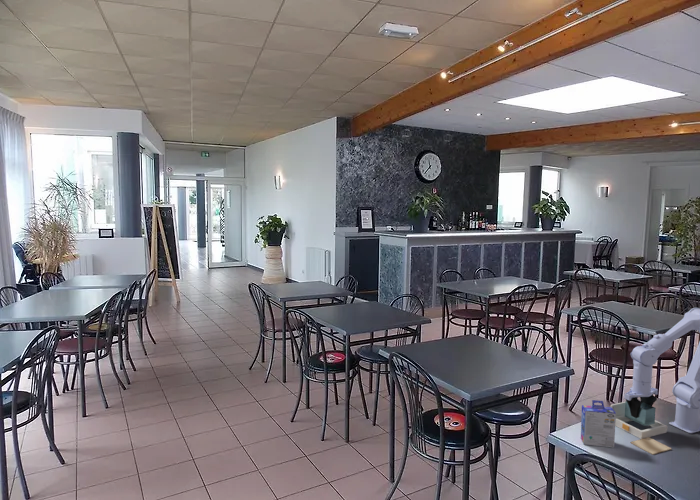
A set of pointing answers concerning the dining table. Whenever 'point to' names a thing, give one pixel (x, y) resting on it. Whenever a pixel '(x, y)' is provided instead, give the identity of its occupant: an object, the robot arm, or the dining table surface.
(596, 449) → the dining table surface
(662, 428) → the case
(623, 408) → the case lid
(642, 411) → the block
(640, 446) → the oak pad
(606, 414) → the ink cartridge box
